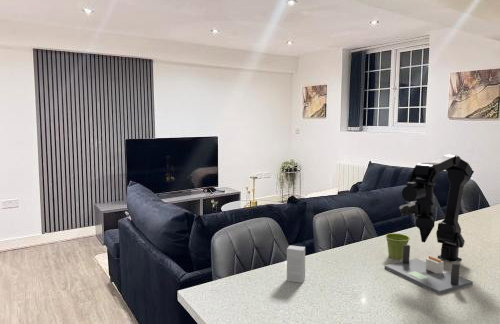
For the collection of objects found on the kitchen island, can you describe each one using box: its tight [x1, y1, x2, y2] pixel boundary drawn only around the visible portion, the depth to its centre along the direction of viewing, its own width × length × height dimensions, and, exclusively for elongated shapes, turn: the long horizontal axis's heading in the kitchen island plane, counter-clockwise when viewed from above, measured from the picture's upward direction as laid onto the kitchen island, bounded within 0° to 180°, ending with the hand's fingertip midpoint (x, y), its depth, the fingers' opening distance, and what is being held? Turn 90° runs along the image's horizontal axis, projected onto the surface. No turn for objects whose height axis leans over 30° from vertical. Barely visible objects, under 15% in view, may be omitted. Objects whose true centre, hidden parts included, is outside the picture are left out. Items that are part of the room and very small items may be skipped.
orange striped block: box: [425, 255, 445, 274], centre depth 142 cm, size 3×5×5 cm, turn 25°
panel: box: [384, 258, 474, 295], centre depth 140 cm, size 17×24×1 cm
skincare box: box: [286, 244, 306, 284], centre depth 137 cm, size 6×4×12 cm
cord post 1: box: [402, 244, 411, 264], centre depth 150 cm, size 2×2×7 cm
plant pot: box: [385, 232, 410, 260], centre depth 159 cm, size 9×9×9 cm
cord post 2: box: [450, 262, 461, 285], centre depth 131 cm, size 2×2×7 cm
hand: (422, 238), depth 144 cm, fingers open, 9 cm apart
